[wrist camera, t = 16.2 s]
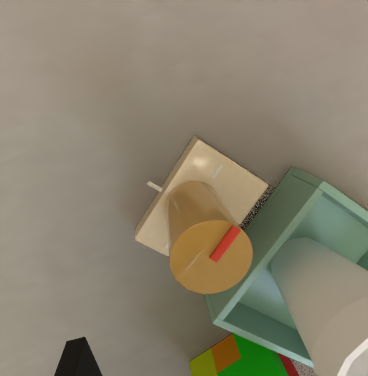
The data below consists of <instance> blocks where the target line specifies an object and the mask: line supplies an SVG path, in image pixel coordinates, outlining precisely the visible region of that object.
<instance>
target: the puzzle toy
mask: <svg viewBox="0 0 368 376" xmlns="http://www.w3.org/2000/svg"><path fill="white" fill-rule="evenodd" d="M190 369H191V376H299V375H298V373H297V371H296V369H295V367H294V365H293V363H292V362H291V361H290V360H289V359H288V357H286V356H284V355H282V354H280V353H277V352H275V351H273V350H271V349H268V348H266V347H264V346H262V345H259V344H257V343H255V342H252V341H250V340H248V339H246V338H243V337H241V336H239V335H237V334H234V333H233V334H231V335H229V336H228V337H226V338H225V339H223V340H222V341H220V342H219V343H217V344H216V345H214V346H213V347H211V348H210V349H208V350H207V351H205V352H204V353H202V354H201V355H199V356H197V357H196V358H194V359H193V360H191V361H190Z"/></svg>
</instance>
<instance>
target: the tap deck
mask: <svg viewBox="0 0 368 376" xmlns="http://www.w3.org/2000/svg"><path fill="white" fill-rule="evenodd" d="M187 181H201V182H204V183H206V184H208V185H210V186H211V187H212V188H213V189H214V190H215V191H216V192H217V194H218V195H219V197H220V198H221V199H222V201H223V202H224V203H225V205H226V206H227V208H228V209H229V210H230V212H231V213H232V215H233V216H234V217H235V219H236V220H237V222H238V223H239V224H241V223H242V221H243V220H244V218H245V217H246V216H247V214H248V213H249V212H250V210H251V209H252V208H253V206H254V205H255V203H256V202H257V201H258V199H259V198H260V197H261V195H262V194H263V192H264V191H265V190H266V188H267V187H268V186H269V184H267V183H266V182H264V181H263V180H261V179H260V178H258V177H257V176H255V175H254V174H252V173H251V172H249V171H248V170H246V169H245V168H243V167H242V166H240V165H238V164H237V163H235V162H234V161H232V160H231V159H229V158H228V157H226V156H225V155H223V154H222V153H220V152H218V151H217V150H215V149H214V148H212V147H211V146H209V145H208V144H206V143H205V142H203V141H202V140H200V139H199V138H197V137H195V136H194V137H193V138H192V140H191V142H190V143H189V145H188V146H187V148H186V149H185V151H184V153H183V154H182V156H181V157H180V159H179V160H178V162H177V164H176V165H175V167H174V168H173V170H172V171H171V173H170V175H169V176H168V178H167V179H166V181H165V182H164V184H163V186H162V187H159V186H158V185H156V184H154V183H152V182H151V181H149V182H148V183H147V185H149V186H151V187H152V188H154V189H156V190H158V191H159V192H158V194H157V195H156V197H155V198H154V200H153V201H152V203H151V205H150V206H149V208H148V209H147V211H146V212H145V214H144V216H143V217H142V219H141V220H140V222H139V223H138V225H137V227H136V230H135V237H134V240H136V241H138V242H140V243H142V244H144V245H146V246H148V247H150V248H152V249H154V250H156V251H158V252H160V253H162V254H164V255H166V256H168V257H169V250H168V241H167V231H166V222H165V212H164V205H165V201H166V198H167V196H168V194H169V193H170V192H171V191H172V189H173V188H175V187H176V186H177V185H179V184H181V183H184V182H187Z"/></svg>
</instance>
